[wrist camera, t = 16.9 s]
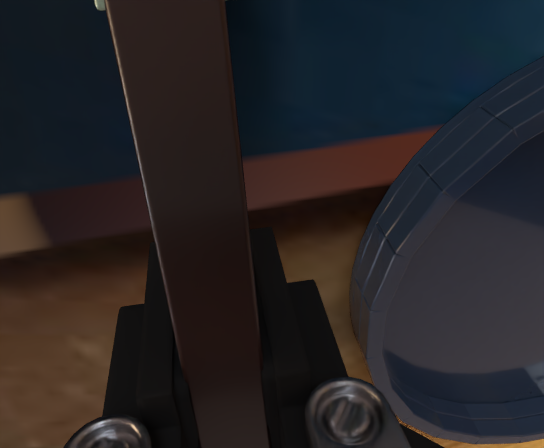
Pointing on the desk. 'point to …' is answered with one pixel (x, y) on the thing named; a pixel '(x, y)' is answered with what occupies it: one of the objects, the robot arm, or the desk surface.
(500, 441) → the dark blue round tray
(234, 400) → the dark brown long bar
